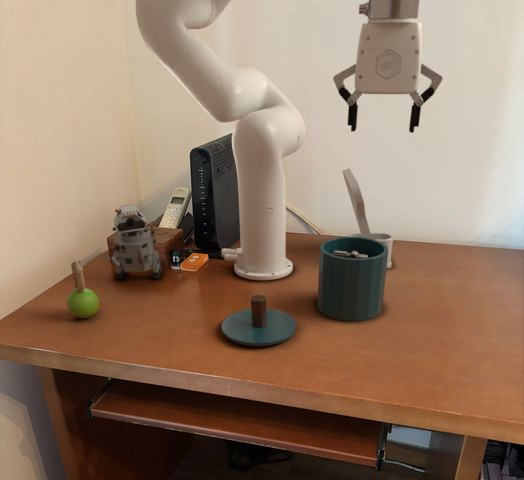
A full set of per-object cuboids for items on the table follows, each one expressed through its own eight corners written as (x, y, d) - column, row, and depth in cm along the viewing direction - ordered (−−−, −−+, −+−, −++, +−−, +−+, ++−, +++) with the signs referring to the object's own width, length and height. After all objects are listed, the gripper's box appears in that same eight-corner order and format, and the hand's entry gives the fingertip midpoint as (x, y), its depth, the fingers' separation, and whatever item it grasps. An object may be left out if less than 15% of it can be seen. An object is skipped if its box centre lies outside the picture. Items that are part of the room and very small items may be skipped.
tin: (314, 318, 98) (317, 257, 92) (320, 291, 108) (322, 235, 102) (382, 323, 96) (388, 261, 90) (381, 295, 106) (387, 237, 100)
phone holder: (392, 269, 117) (402, 183, 108) (345, 269, 118) (351, 184, 108) (378, 241, 132) (386, 164, 123) (336, 242, 132) (341, 165, 123)
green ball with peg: (74, 328, 96) (60, 263, 90) (67, 313, 101) (54, 252, 95) (105, 321, 98) (94, 258, 92) (97, 307, 103) (85, 246, 97)
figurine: (110, 291, 109) (97, 217, 102) (122, 269, 119) (111, 200, 112) (155, 290, 109) (146, 216, 102) (163, 268, 119) (156, 200, 112)
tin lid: (213, 346, 90) (211, 312, 87) (231, 311, 101) (229, 280, 98) (291, 352, 88) (291, 317, 85) (300, 316, 99) (301, 284, 96)
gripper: (334, 13, 83) (328, 133, 91) (453, 10, 79) (436, 135, 88) (338, 13, 89) (333, 126, 98) (449, 11, 86) (433, 128, 94)
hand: (382, 130), depth 93 cm, fingers open, 9 cm apart
